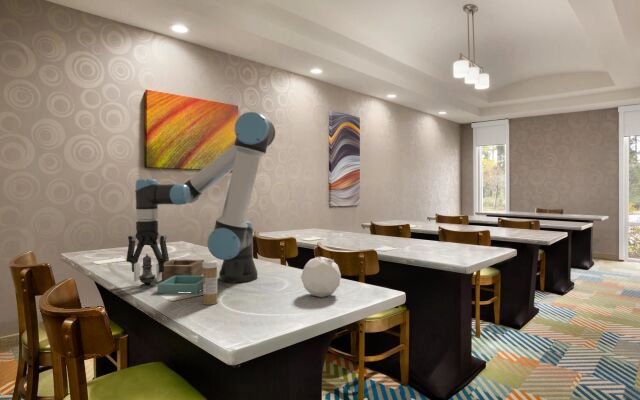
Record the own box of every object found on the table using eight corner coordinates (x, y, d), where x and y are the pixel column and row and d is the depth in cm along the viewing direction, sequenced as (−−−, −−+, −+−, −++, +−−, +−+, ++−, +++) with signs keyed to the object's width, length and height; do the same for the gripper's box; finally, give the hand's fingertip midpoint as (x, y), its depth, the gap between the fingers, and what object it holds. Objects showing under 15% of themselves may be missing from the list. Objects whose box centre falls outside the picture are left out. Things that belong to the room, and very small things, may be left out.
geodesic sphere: (356, 276, 140) (333, 244, 142) (343, 285, 127) (319, 249, 130) (325, 298, 144) (304, 266, 147) (310, 309, 131) (287, 274, 134)
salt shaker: (149, 287, 149) (149, 255, 148) (135, 287, 150) (134, 254, 150) (159, 284, 155) (158, 252, 154) (145, 283, 156) (144, 252, 155)
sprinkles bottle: (204, 301, 131) (203, 259, 130) (218, 301, 131) (218, 259, 131) (201, 305, 126) (201, 262, 126) (216, 305, 126) (216, 262, 126)
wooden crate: (204, 273, 173) (204, 259, 173) (191, 281, 159) (191, 266, 159) (172, 273, 174) (172, 259, 173) (156, 281, 160) (156, 265, 160)
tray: (210, 284, 154) (210, 275, 154) (197, 293, 140) (196, 284, 140) (174, 283, 155) (174, 275, 155) (157, 293, 141) (157, 284, 141)
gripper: (178, 219, 155) (179, 278, 156) (125, 219, 156) (126, 278, 157) (169, 221, 148) (170, 283, 148) (114, 221, 149) (115, 282, 150)
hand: (148, 280), depth 153 cm, fingers open, 8 cm apart
